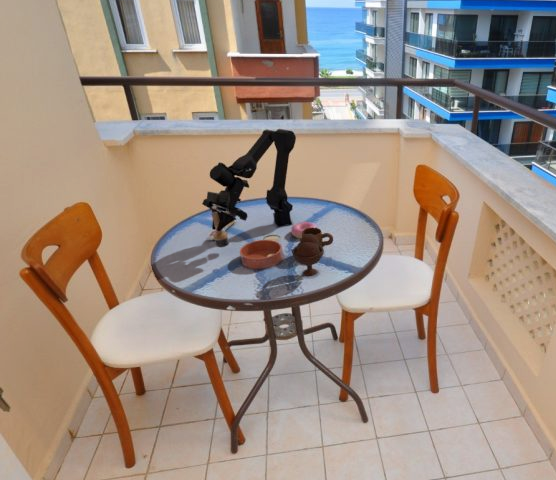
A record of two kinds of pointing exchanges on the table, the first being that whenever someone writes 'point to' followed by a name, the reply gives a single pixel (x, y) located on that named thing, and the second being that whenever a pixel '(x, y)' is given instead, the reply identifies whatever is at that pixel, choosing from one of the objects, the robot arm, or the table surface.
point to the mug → (319, 236)
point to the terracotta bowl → (261, 254)
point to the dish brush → (219, 232)
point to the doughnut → (301, 228)
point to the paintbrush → (222, 230)
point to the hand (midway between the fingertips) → (215, 230)
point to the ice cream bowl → (308, 253)
